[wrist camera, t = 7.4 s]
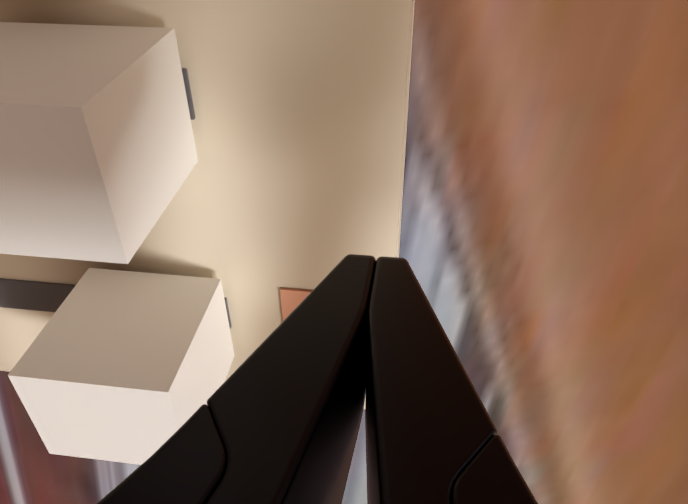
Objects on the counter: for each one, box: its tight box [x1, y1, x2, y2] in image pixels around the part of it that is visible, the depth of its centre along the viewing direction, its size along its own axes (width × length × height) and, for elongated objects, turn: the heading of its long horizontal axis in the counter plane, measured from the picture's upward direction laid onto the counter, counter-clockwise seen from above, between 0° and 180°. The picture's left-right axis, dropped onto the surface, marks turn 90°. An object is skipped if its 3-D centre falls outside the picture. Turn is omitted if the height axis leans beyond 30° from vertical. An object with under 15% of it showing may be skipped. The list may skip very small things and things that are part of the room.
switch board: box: [0, 0, 415, 409], centre depth 15 cm, size 18×22×3 cm
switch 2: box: [8, 268, 235, 465], centre depth 16 cm, size 4×3×4 cm
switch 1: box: [0, 22, 198, 264], centre depth 12 cm, size 4×3×4 cm
